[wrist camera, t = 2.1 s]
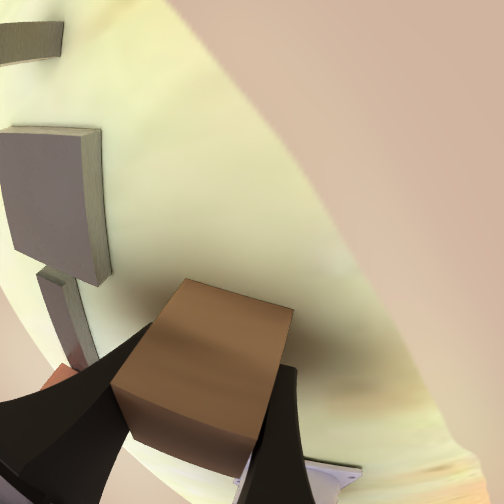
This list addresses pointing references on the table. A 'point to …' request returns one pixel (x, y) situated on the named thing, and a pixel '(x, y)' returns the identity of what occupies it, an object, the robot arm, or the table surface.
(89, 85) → the table surface
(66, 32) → the table surface
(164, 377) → the block
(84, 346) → the rail
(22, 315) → the table surface
